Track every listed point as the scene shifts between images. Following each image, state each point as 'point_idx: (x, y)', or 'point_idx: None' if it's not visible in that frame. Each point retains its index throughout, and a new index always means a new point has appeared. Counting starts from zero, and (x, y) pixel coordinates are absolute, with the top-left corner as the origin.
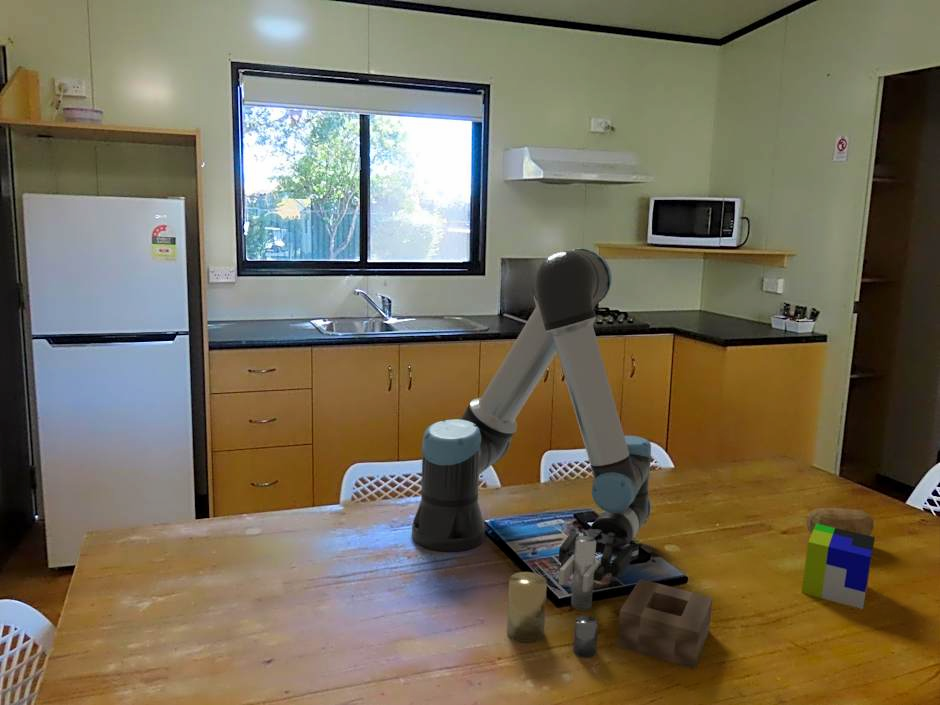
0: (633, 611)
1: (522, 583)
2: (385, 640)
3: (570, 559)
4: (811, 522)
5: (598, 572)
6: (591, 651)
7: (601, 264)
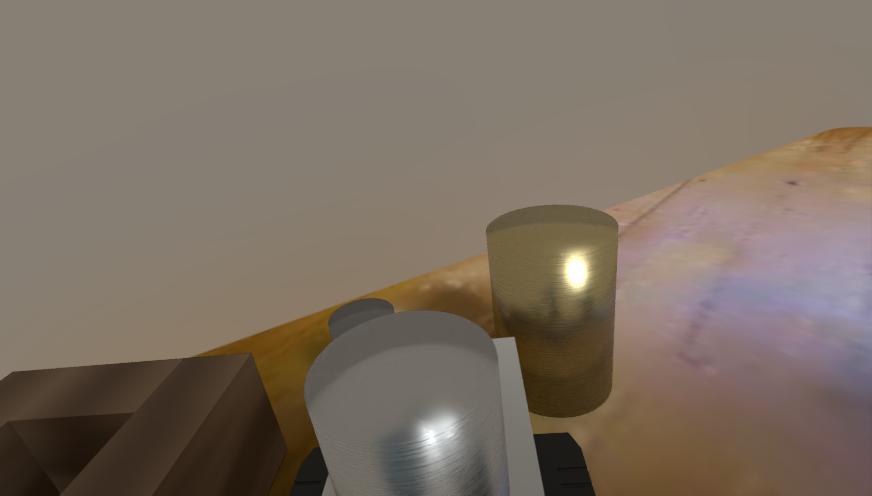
0: (200, 369)
1: (553, 215)
2: (750, 246)
3: (522, 451)
4: None
5: (321, 454)
6: None
7: None
